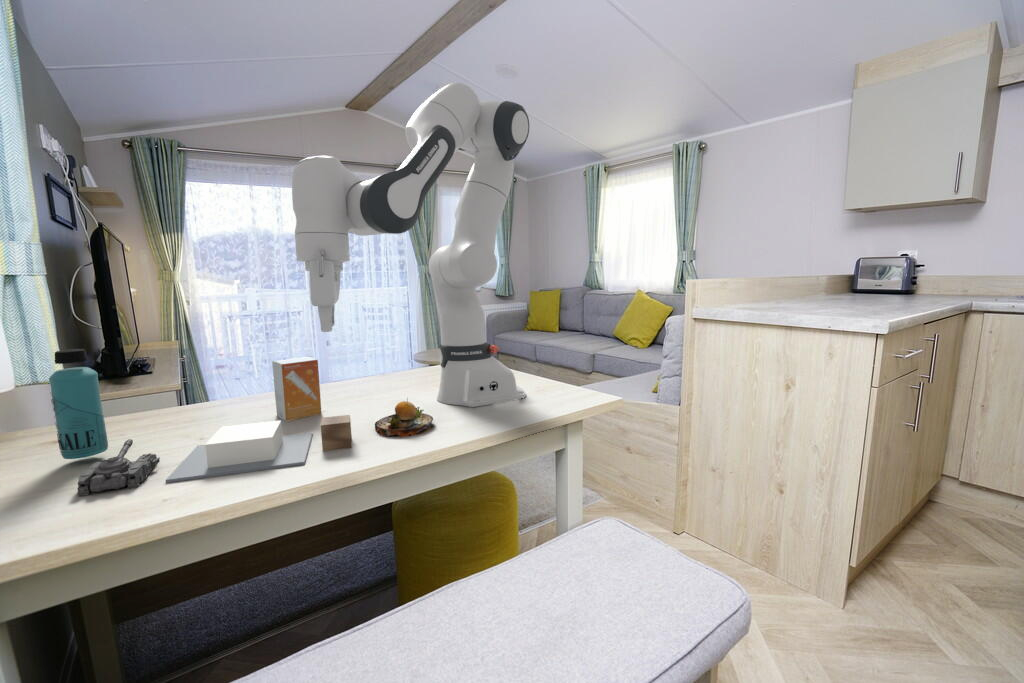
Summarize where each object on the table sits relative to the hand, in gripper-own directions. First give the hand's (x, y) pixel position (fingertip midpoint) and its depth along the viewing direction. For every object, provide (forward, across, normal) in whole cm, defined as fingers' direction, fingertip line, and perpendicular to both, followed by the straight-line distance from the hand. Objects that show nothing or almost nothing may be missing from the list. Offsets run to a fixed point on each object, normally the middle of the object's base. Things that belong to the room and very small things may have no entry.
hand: (328, 328), depth 86 cm
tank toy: (+23, -3, +32) cm, 40 cm away
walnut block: (+22, 0, 0) cm, 22 cm away
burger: (+22, +6, -13) cm, 27 cm away
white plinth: (+22, 0, +15) cm, 27 cm away
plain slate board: (+22, 0, +15) cm, 27 cm away
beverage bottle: (+23, +8, +42) cm, 48 cm away
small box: (+22, +24, +9) cm, 34 cm away
